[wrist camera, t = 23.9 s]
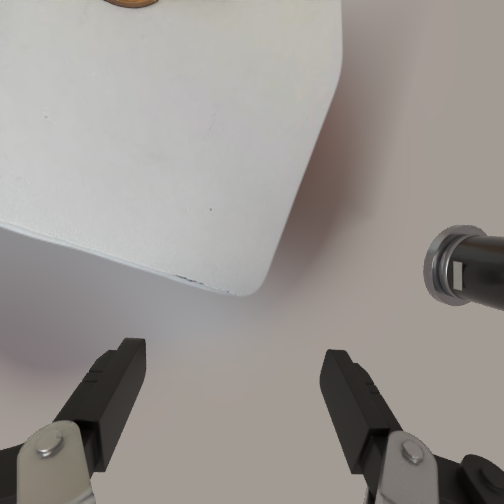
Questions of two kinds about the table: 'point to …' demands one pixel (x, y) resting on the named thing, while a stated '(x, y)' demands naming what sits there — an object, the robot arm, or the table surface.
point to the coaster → (131, 2)
